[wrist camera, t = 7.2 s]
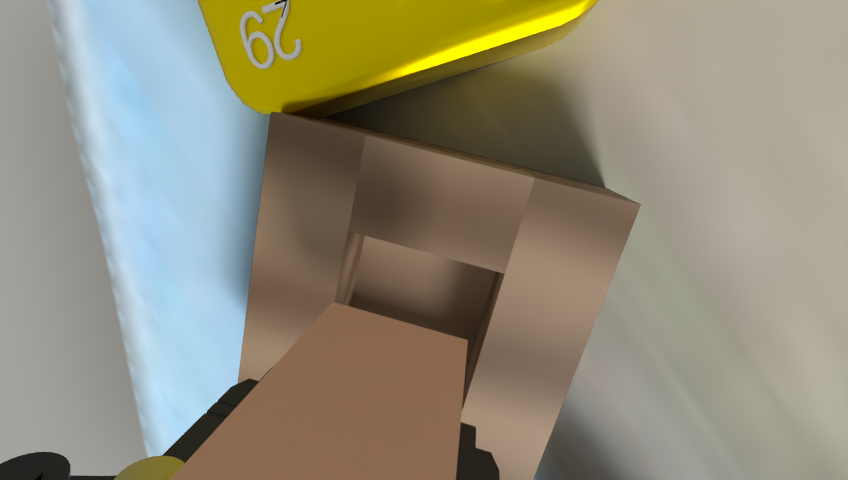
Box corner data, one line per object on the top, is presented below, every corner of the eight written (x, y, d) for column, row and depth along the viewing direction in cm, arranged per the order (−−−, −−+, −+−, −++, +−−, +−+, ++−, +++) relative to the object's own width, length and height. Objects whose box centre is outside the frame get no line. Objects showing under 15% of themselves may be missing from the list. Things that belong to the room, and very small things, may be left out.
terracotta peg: (332, 301, 13) (115, 540, 5) (468, 340, 13) (440, 652, 5) (311, 415, 14) (109, 741, 7) (434, 453, 14) (371, 843, 6)
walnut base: (317, 115, 20) (270, 111, 16) (606, 187, 19) (640, 204, 15) (279, 361, 24) (234, 411, 20) (516, 433, 23) (523, 503, 18)
